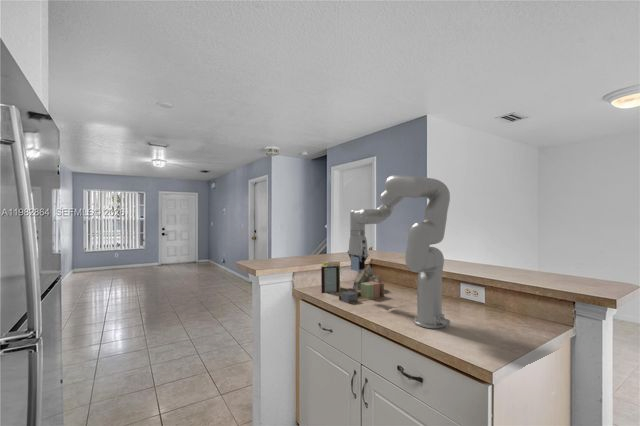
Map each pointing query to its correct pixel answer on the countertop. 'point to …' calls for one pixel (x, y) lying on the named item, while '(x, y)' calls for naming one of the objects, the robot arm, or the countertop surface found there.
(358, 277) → the ceramic cottage
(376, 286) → the book
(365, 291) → the book
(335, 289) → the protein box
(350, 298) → the dark grey block
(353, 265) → the book
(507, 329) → the countertop surface
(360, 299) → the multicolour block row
